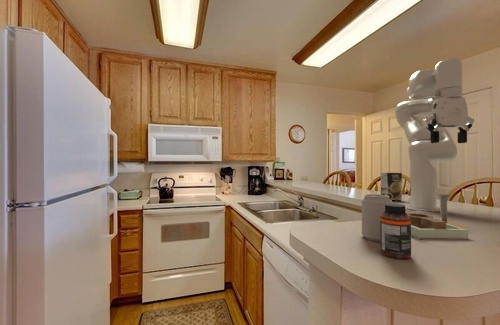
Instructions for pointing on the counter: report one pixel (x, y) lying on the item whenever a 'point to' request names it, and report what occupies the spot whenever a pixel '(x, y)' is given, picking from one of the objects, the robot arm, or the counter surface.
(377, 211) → the can
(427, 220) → the brown wooden block
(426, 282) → the counter surface
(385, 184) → the coffee box
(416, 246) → the counter surface
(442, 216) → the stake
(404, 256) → the supplement bottle
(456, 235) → the tray
